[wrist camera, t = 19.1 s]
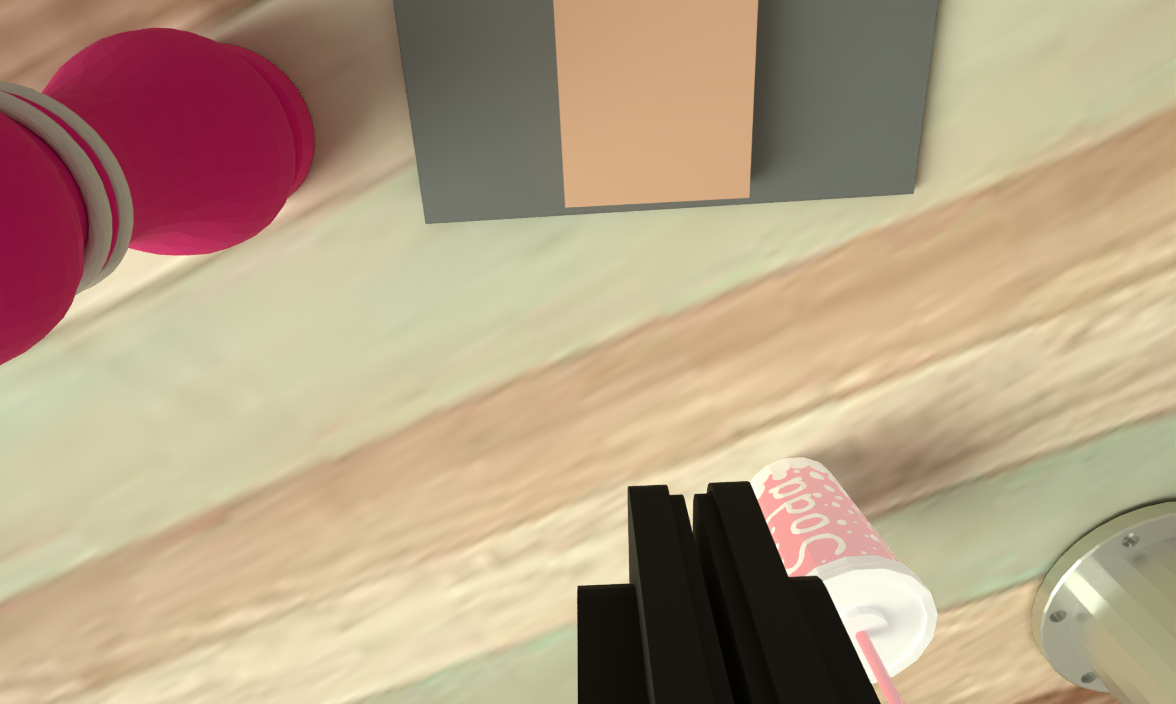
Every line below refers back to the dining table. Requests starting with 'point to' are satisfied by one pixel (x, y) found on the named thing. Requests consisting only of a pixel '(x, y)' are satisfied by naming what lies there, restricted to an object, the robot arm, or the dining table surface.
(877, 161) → the mat
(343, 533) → the dining table surface
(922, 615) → the beverage cup
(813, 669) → the robot arm
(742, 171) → the tile
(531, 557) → the dining table surface
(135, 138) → the pepper mill
